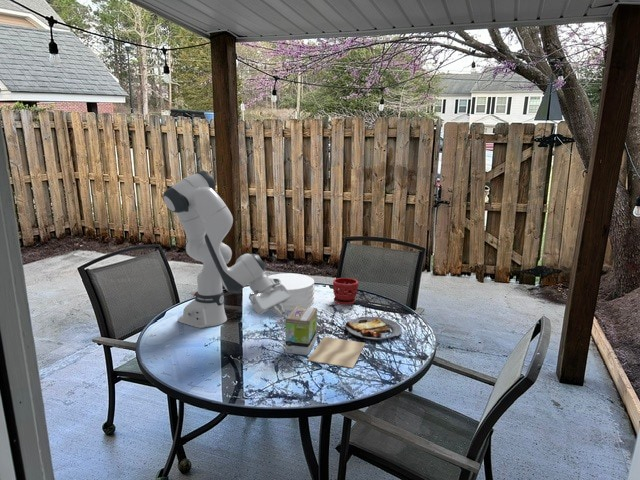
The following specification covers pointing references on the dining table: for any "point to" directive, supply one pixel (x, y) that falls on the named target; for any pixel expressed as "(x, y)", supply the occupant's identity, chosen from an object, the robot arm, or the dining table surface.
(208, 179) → the robot arm
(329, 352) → the cloth mat
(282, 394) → the dining table surface
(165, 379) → the dining table surface
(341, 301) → the plant pot
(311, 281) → the plate stack
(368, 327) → the food plate
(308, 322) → the tea box
